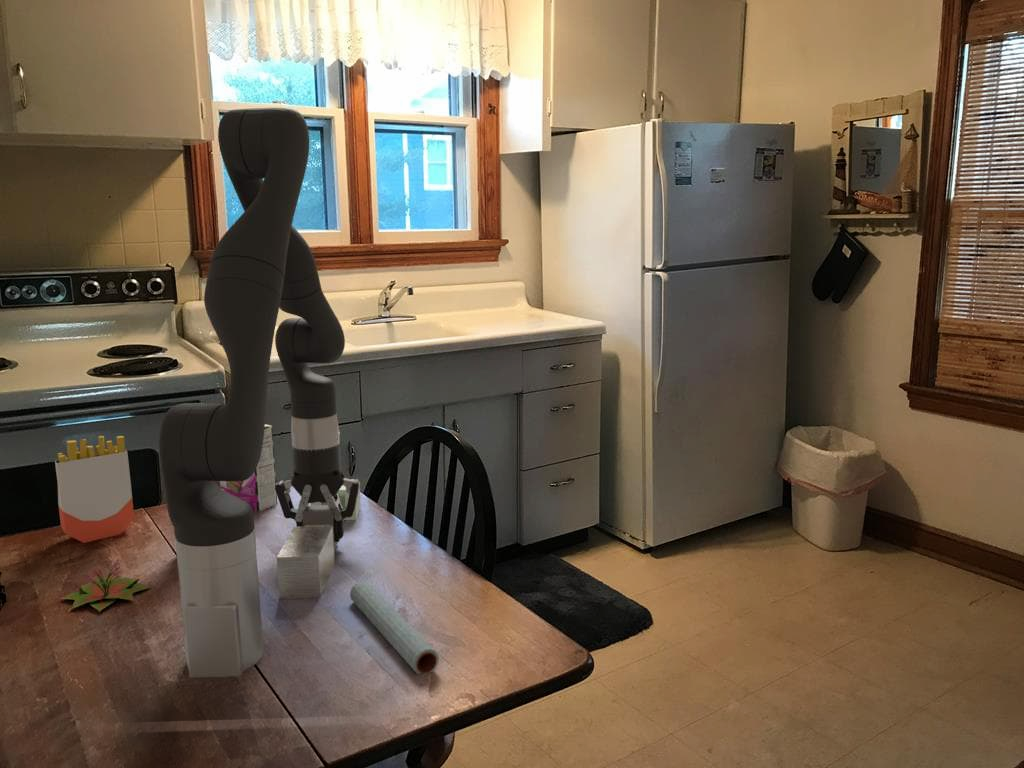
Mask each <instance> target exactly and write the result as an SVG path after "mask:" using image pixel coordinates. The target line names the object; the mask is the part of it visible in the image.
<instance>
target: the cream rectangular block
mask: <svg viewBox="0 0 1024 768" xmlns="http://www.w3.org/2000/svg"><path fill="white" fill-rule="evenodd" d="M334 565H335V551H334V543H333V526H304V527H296V526H294V527H293V528H292V530H291V531H290V534H289V535H288V537H287V538H286V540H285V542H284V543H283V545H282V547H281V549H280V551H279V552H278V554H277V556H276V569H277V571H276V572H277V584H278V585H277V586H278V598H279V600H280V599H283V600H284V599H317V598H319V599H321V598H322V596H323V594H324V590H325V588H326V587H327V586H326V585H327V583H328V580H329V578H330V576H331V573H332V572H333V571H332V570H333V568H334Z"/></svg>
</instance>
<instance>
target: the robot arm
mask: <svg viewBox="0 0 1024 768" xmlns="http://www.w3.org/2000/svg"><path fill="white" fill-rule="evenodd" d="M217 129H218V131H217V132H218V133H217V140H218V145H219V152H220V154H221V158H222V162H223V164H224V167H225V169H226V172H227V175H228V177H229V179H230V181H231V182H230V183H231V184H232V186H233V188H234V191H235V193H236V196H237V197H238V200H239V203H240V205H241V207H242V209H243V211H244V212H242V214H241V215H240V216H239V217H238V219H236V221H235V222H234V223H232V225H231V226H230V227H229V228H228V229H227V231H226V232H225V233H224V234H223V236H221V238H220V240H219V241H218V242H217V244H216V246H215V247H214V250H213V252H212V254H211V257H210V262H209V266H208V272H207V278H206V283H205V288H204V294H203V302H204V307H205V312H206V314H207V317H208V319H209V321H210V324H211V325H212V328H213V330H214V332H215V334H216V336H217V338H218V340H219V343H220V344H221V346H222V348H223V350H224V352H225V355H226V358H227V361H228V363H229V364H228V365H229V373H230V386H229V388H230V389H229V395H228V400H227V403H200V402H199V403H198V402H197V403H194V402H188V403H187V402H186V403H179V404H175V405H173V406H172V407H170V408H169V409H168V411H167V412H166V413H165V415H164V417H163V419H162V422H161V425H160V428H159V435H158V437H159V438H158V452H159V453H158V454H159V459H160V469H161V473H162V479H163V485H164V487H163V488H164V494H165V499H166V500H165V501H166V508H167V514H168V517H169V519H170V522H171V524H172V526H173V530H174V542H175V541H176V547H175V550H176V559H177V560H176V561H177V563H176V564H177V573H178V583H179V584H178V585H179V592H180V593H179V595H180V607H181V614H182V615H181V617H182V625H183V626H182V627H183V636H184V647H185V656H186V657H185V658H186V666H187V669H188V677H189V678H219V677H220V678H222V677H223V678H224V677H227V678H228V677H229V678H230V677H240V676H242V674H243V673H244V672H245V671H247V670H248V669H250V668H251V667H254V666H255V665H256V664H257V663H258V662H259V661H260V660H261V659H262V658H263V655H264V651H265V649H264V638H263V625H262V624H263V623H262V614H261V611H262V610H261V600H260V599H261V597H260V596H261V595H260V585H259V584H260V583H259V571H258V558H257V557H258V556H257V542H256V529H255V527H256V525H255V514H254V510H253V509H252V507H251V506H250V505H249V504H248V503H247V502H245V501H244V500H242V499H239V498H237V497H235V496H232V495H230V494H228V493H227V492H225V491H224V490H222V489H221V488H220V487H219V485H217V483H215V482H219V481H244V480H247V479H249V478H250V477H251V476H252V475H253V473H254V472H255V470H256V468H257V466H258V463H259V460H260V456H261V451H262V446H263V438H264V428H265V424H266V413H267V412H266V411H267V400H268V399H267V398H268V387H269V374H270V373H269V372H270V363H271V357H272V349H273V342H274V343H275V350H276V352H277V353H276V354H277V356H278V359H279V362H280V364H281V367H282V369H283V370H282V371H283V372H284V376H285V379H286V382H287V386H288V388H289V393H290V409H291V426H290V437H291V449H292V450H291V451H292V466H293V467H292V469H293V471H292V472H293V475H292V477H291V479H287V480H284V479H280V480H278V482H276V486H275V491H276V494H277V501H278V503H279V504H280V508H281V511H282V514H283V516H284V518H285V519H291V520H294V521H295V525H296V526H295V527H303V511H306V508H307V507H308V505H310V503H315V502H321V503H327V504H328V507H329V509H330V510H331V511H333V516H334V518H335V520H334V540H335V542H338V543H339V542H340V541H341V540H342V539H343V537H344V536H345V535H344V534H345V521H344V518H346V517H351V516H352V515H353V512H354V510H355V506H356V502H357V497H358V493H359V488H360V489H361V483H362V482H361V481H362V480H360V479H359V478H354V479H355V480H351V478H346V477H345V475H344V474H343V472H342V467H341V466H342V464H341V445H340V444H341V443H340V439H341V433H340V427H339V422H338V415H337V397H336V385H335V383H334V381H333V380H332V379H331V378H329V377H327V376H324V375H320V374H317V373H314V372H313V371H312V370H311V369H310V367H309V365H308V364H332V363H334V362H337V361H338V360H339V359H340V358H341V357H342V355H343V353H344V351H345V345H346V339H345V337H346V336H345V334H344V330H343V326H342V325H341V322H340V321H339V319H338V317H337V316H336V314H335V312H334V310H333V309H332V307H331V305H330V303H329V301H328V300H327V297H326V296H325V294H324V292H323V290H322V286H321V281H320V280H321V279H320V277H319V273H318V269H317V262H316V260H315V256H314V253H313V252H312V250H311V248H310V246H309V243H307V241H306V240H305V238H304V237H303V236H302V234H301V233H300V232H299V231H298V230H297V228H295V227H294V226H293V221H294V217H295V212H296V209H297V206H298V202H299V197H300V194H301V190H302V187H303V184H304V183H303V182H304V178H305V175H306V171H307V166H308V161H309V154H310V133H309V128H308V124H307V121H306V119H305V117H304V116H303V114H302V113H301V112H300V111H298V110H296V109H294V108H290V107H285V106H284V107H281V106H280V107H279V106H278V107H277V106H276V107H255V108H241V109H240V108H238V109H231V110H228V111H227V112H225V113H224V114H223V115H222V117H221V119H220V121H219V124H218V128H217ZM280 310H281V311H282V312H284V313H287V314H289V315H294V316H297V317H290V318H286V319H284V320H282V321H281V322H280V324H279V325H278V326H277V329H276V325H277V320H278V315H279V311H280ZM275 330H276V331H275ZM342 485H344V486H345V487H346V492H347V493H350V494H349V499H348V503H347V507H346V508H344V509H343V508H342V506H341V503H340V499H339V496H338V494H337V492H338V491H339V489H340V488H341V487H342ZM292 488H293V489H294V490H295V491H296V492H297V494H298V495H299V496H300V501H299V504H298V506H297V508H295V507H294V503H293V501H292V500H293V499H292V498H291V494H290V492H291V491H292Z"/></svg>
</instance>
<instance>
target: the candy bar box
mask: <svg viewBox="0 0 1024 768" xmlns="http://www.w3.org/2000/svg"><path fill="white" fill-rule="evenodd" d="M273 436H274V435H273V425H270V424H266V423H265V428H264V438H263V446H262V451H261V456H260V460H259V463H258V466H257V468H256V470H255V472H254V473H253V475H252V476H251V477H250V478H249V479H247V480H244V481H218V484H219V485H218V487H220V488H221V489H222V490H224V491H225V492H227V493H228V494H230V495H232V496H235V497H237V498H239V499H242V500H244V501H245V502H247V503H248V504H249V505H250V506H251V507H252V509H253V512H254V511H255V512H262V511H264V510H267V509H269V508H271V506H272V507H274V506H276V504H277V505H278V497H277V494H276V491H275V486H276V485H277V480H276V465H275V464H276V463H275V461H276V460H275V450H274V448H275V447H274V437H273ZM266 508H267V509H266Z"/></svg>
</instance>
